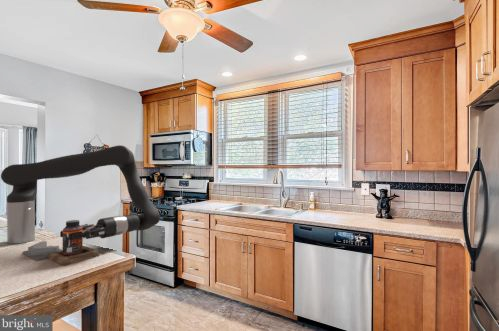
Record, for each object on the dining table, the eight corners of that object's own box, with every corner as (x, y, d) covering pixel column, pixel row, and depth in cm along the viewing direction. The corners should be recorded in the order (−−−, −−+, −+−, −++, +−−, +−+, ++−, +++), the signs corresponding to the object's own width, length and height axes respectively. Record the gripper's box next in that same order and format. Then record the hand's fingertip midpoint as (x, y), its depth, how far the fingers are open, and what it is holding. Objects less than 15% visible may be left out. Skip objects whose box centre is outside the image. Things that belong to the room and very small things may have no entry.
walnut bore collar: (48, 258, 95) (48, 253, 95) (82, 250, 104) (82, 245, 104) (63, 265, 88) (63, 260, 88) (98, 255, 97) (98, 250, 97)
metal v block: (22, 253, 101) (22, 244, 101) (50, 247, 108) (50, 239, 108) (37, 260, 92) (37, 251, 92) (67, 253, 100) (67, 245, 100)
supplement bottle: (72, 256, 92) (72, 223, 92) (58, 255, 93) (57, 222, 93) (86, 250, 98) (86, 219, 98) (72, 249, 99) (72, 218, 99)
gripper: (103, 215, 112) (55, 222, 98) (122, 219, 103) (74, 227, 90) (103, 233, 112) (56, 243, 98) (122, 238, 103) (74, 250, 90)
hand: (64, 235), depth 94 cm, fingers closed on supplement bottle, 6 cm apart
